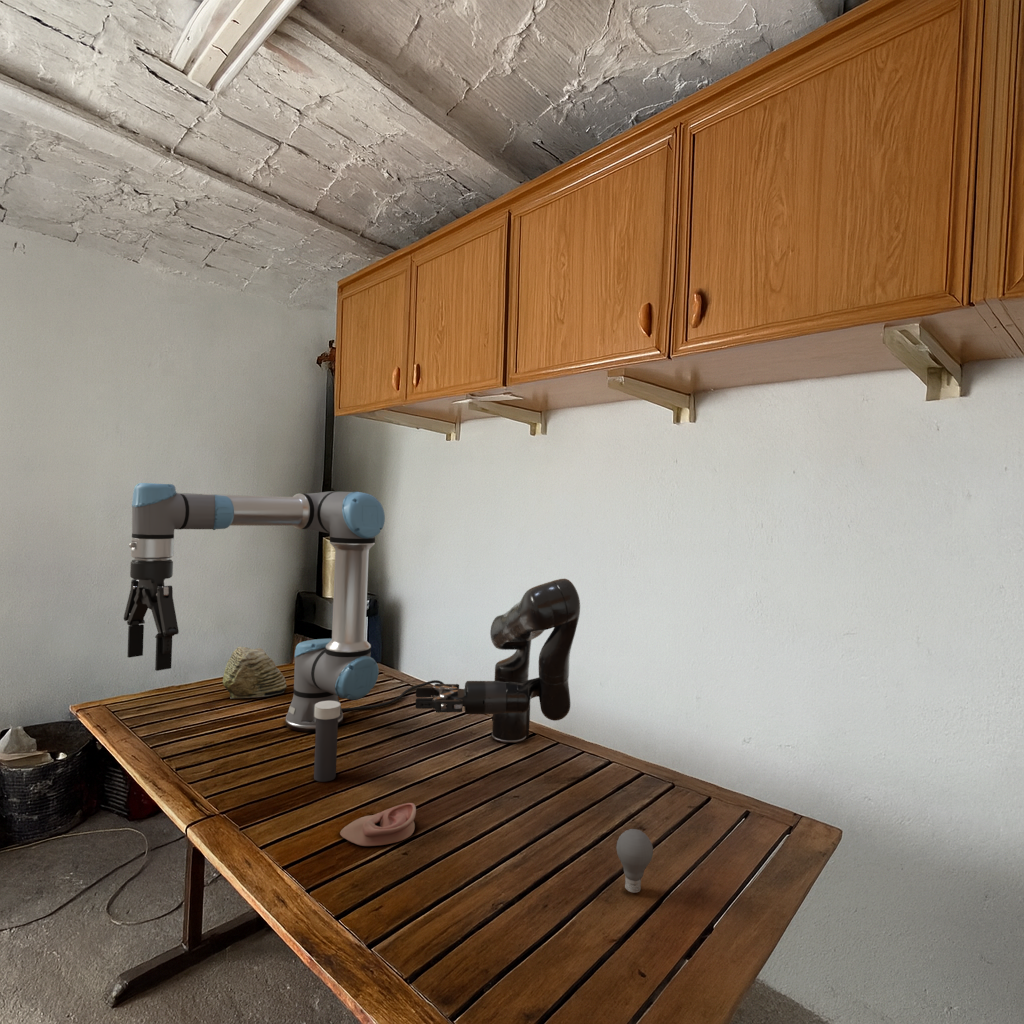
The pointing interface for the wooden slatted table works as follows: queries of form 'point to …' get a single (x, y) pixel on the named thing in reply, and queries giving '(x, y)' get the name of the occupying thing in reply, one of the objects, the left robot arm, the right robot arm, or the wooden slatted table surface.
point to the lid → (327, 710)
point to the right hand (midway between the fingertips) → (415, 697)
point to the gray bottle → (325, 749)
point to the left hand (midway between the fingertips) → (148, 662)
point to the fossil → (252, 674)
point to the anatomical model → (382, 826)
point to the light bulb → (634, 857)
